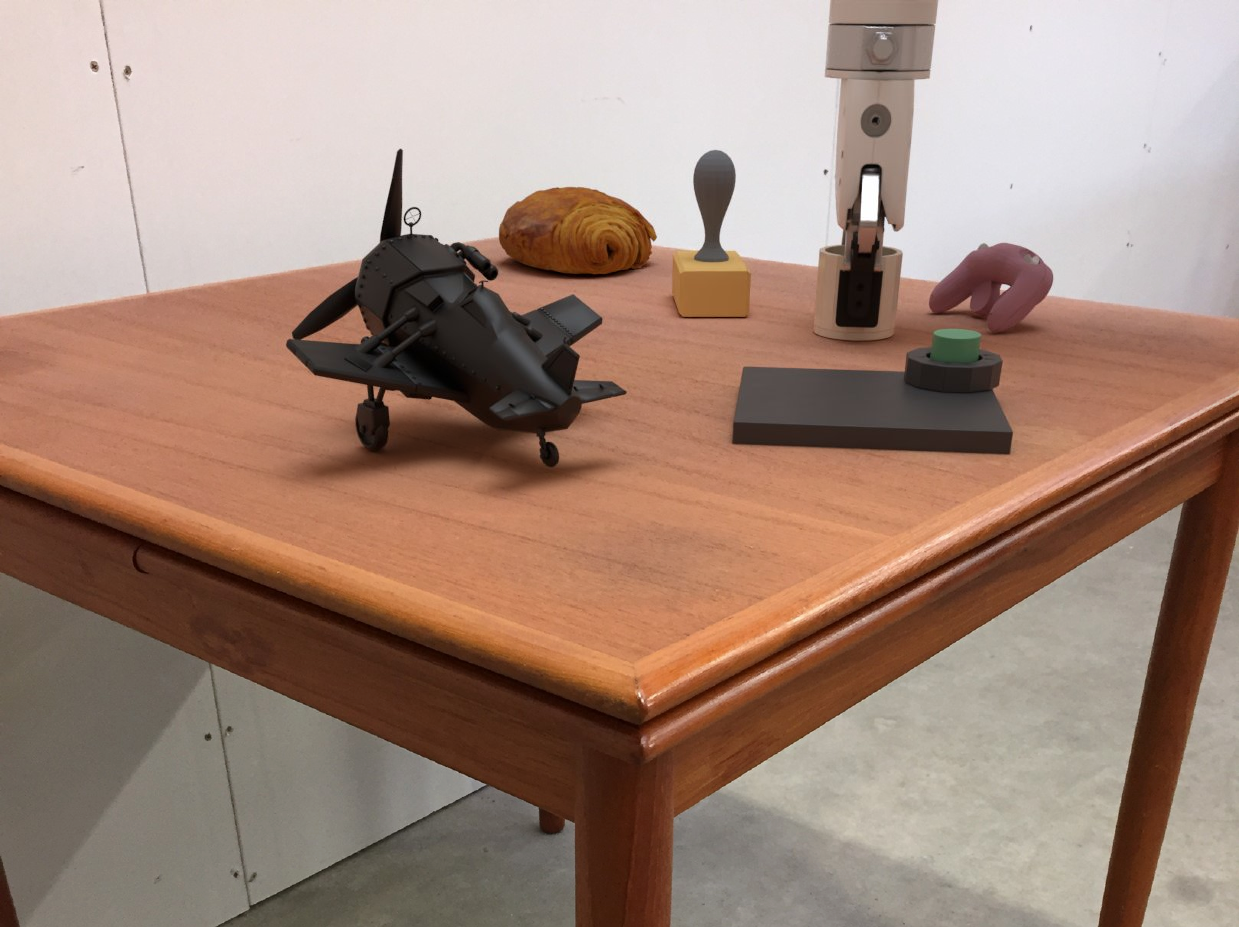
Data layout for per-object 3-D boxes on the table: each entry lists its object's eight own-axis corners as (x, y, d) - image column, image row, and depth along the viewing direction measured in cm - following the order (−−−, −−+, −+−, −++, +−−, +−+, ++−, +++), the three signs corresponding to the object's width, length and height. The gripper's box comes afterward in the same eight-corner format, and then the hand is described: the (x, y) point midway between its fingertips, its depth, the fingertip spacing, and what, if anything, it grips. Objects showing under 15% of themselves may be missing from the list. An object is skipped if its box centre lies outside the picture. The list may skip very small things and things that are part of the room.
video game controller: (1028, 351, 107) (1074, 265, 105) (988, 328, 105) (1035, 240, 102) (957, 327, 115) (999, 247, 113) (919, 305, 112) (961, 222, 110)
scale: (989, 394, 89) (995, 347, 88) (1017, 456, 77) (1026, 403, 76) (742, 385, 91) (744, 339, 89) (732, 445, 79) (734, 393, 77)
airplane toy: (510, 386, 90) (500, 133, 82) (711, 448, 78) (722, 158, 70) (241, 441, 79) (199, 154, 71) (426, 523, 67) (401, 188, 59)
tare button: (974, 357, 87) (978, 329, 86) (979, 368, 84) (983, 339, 84) (927, 356, 87) (931, 327, 86) (931, 366, 85) (935, 337, 84)
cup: (891, 325, 108) (900, 245, 105) (895, 342, 103) (904, 258, 100) (813, 323, 109) (819, 243, 106) (813, 339, 104) (819, 256, 100)
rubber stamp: (749, 317, 111) (757, 155, 104) (679, 317, 110) (683, 155, 104) (736, 295, 119) (743, 144, 113) (671, 295, 119) (675, 144, 113)
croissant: (547, 306, 125) (548, 215, 120) (479, 257, 135) (477, 171, 130) (680, 288, 131) (687, 201, 126) (605, 242, 141) (608, 160, 136)
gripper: (942, 59, 88) (910, 342, 98) (923, 51, 103) (896, 297, 112) (827, 58, 89) (806, 339, 98) (824, 50, 104) (806, 295, 113)
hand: (854, 314), depth 105 cm, fingers open, 6 cm apart
